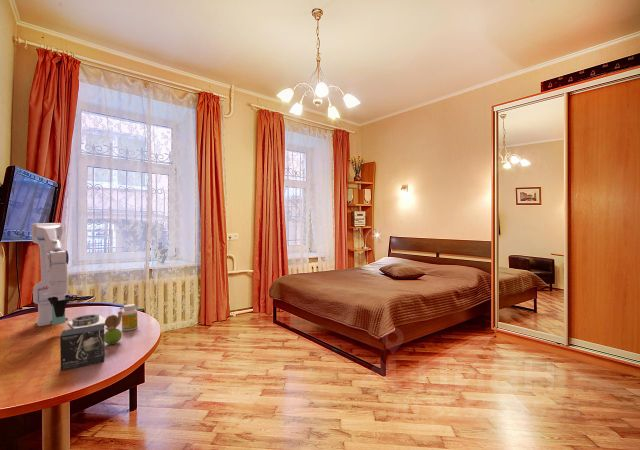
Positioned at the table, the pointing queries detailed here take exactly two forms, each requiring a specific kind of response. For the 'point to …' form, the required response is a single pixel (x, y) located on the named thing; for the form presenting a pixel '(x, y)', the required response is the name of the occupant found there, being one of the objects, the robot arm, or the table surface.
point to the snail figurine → (113, 328)
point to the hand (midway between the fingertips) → (58, 315)
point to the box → (82, 346)
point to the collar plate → (87, 321)
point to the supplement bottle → (129, 317)
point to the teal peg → (57, 318)
